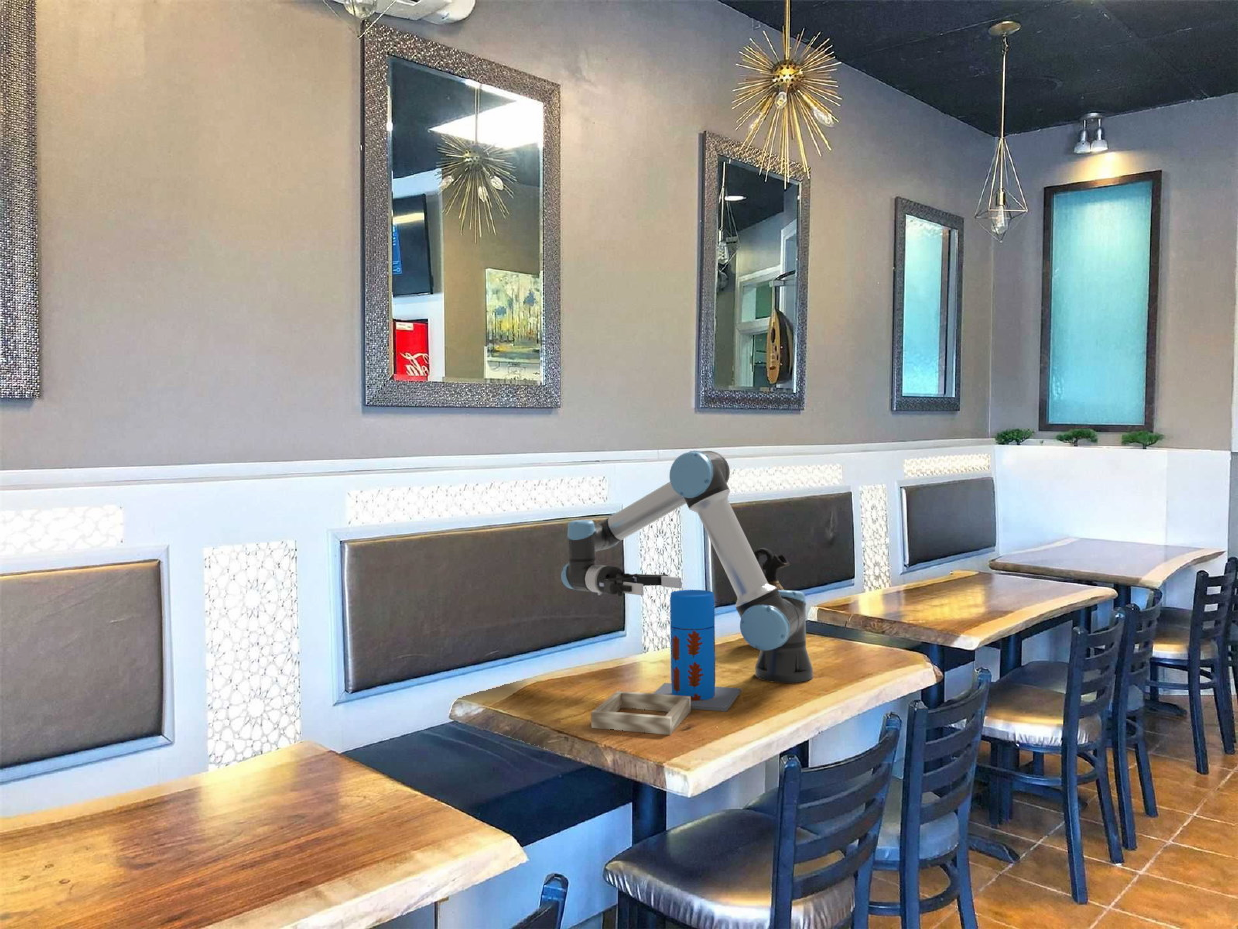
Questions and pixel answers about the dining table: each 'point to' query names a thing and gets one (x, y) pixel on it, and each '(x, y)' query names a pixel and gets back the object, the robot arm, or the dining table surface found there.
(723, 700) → the rubber mat
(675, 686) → the thermos
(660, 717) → the wooden collar
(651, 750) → the dining table surface
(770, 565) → the ceramic jug
